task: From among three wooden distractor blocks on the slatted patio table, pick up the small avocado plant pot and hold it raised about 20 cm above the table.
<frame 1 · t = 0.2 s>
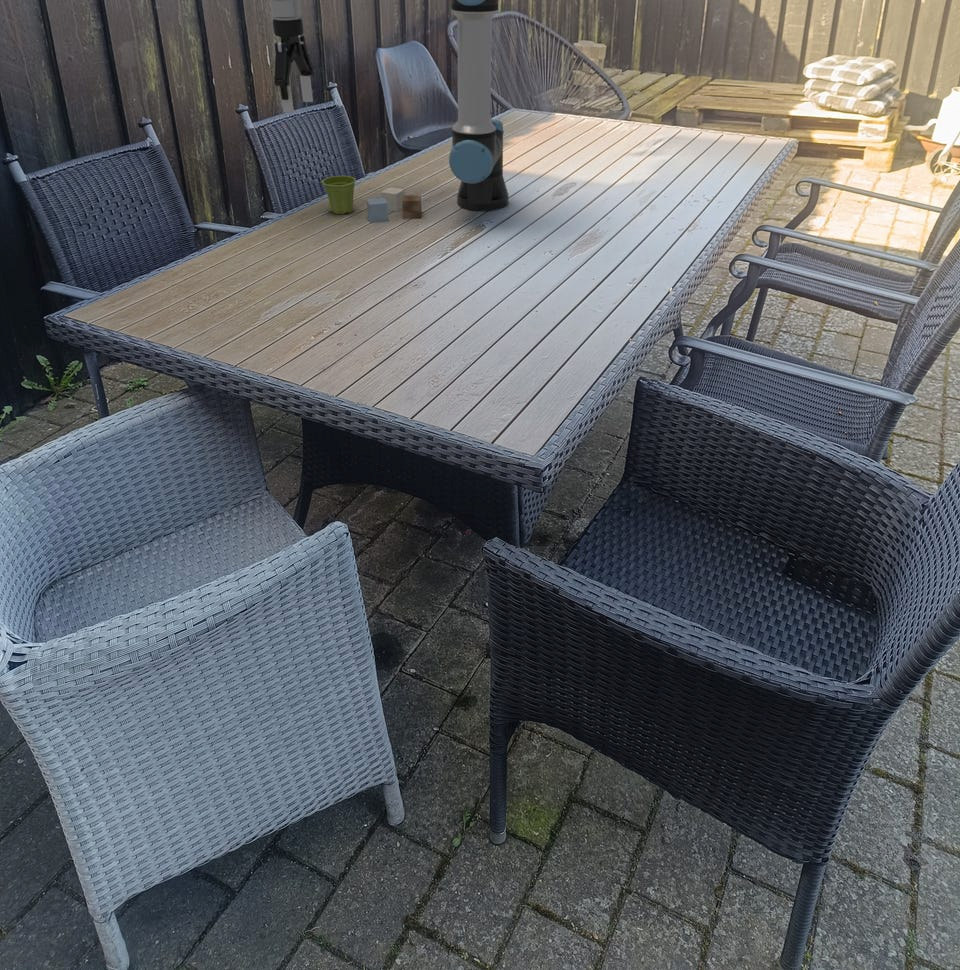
hand: (298, 107, 228), 28 cm above the table, fingers open, 13 cm apart
walnut block: (412, 215, 239), on the table
plant pot: (342, 211, 243), on the table
slate blue block: (378, 219, 237), on the table
cream block: (393, 208, 245), on the table
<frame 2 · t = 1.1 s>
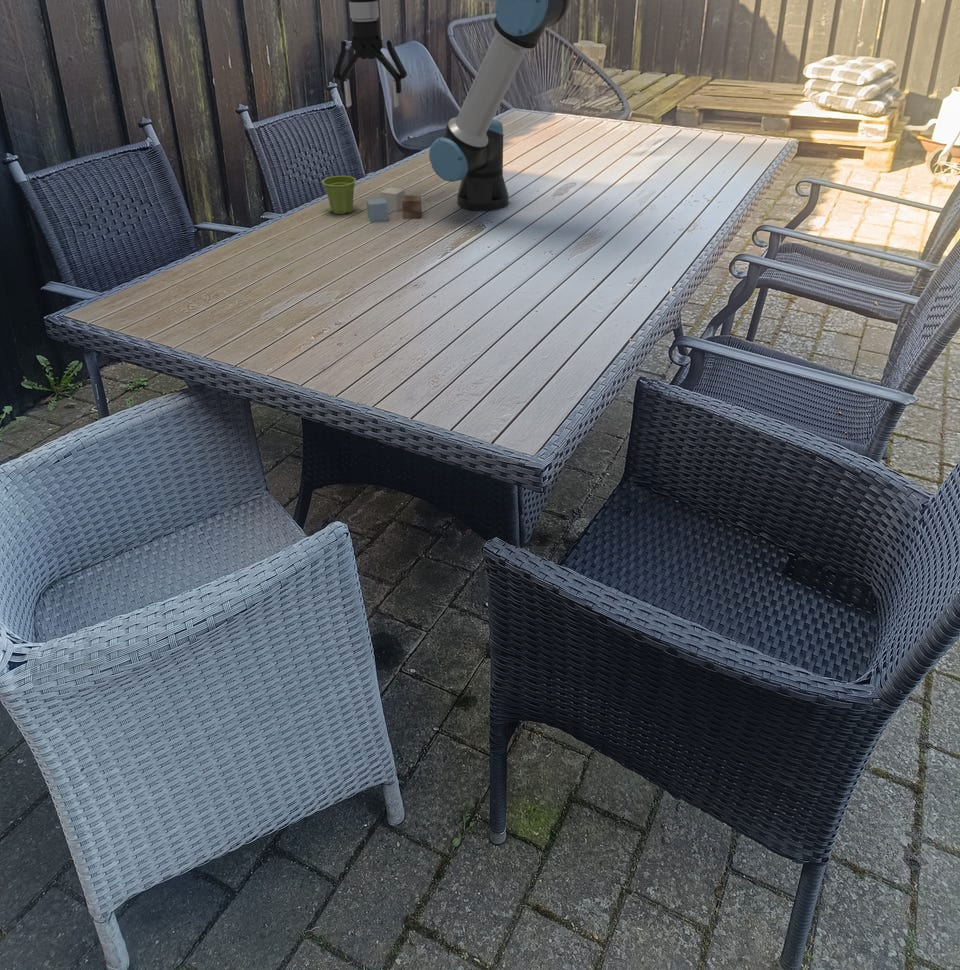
hand: (372, 106, 234), 26 cm above the table, fingers open, 13 cm apart
nothing on the table moved.
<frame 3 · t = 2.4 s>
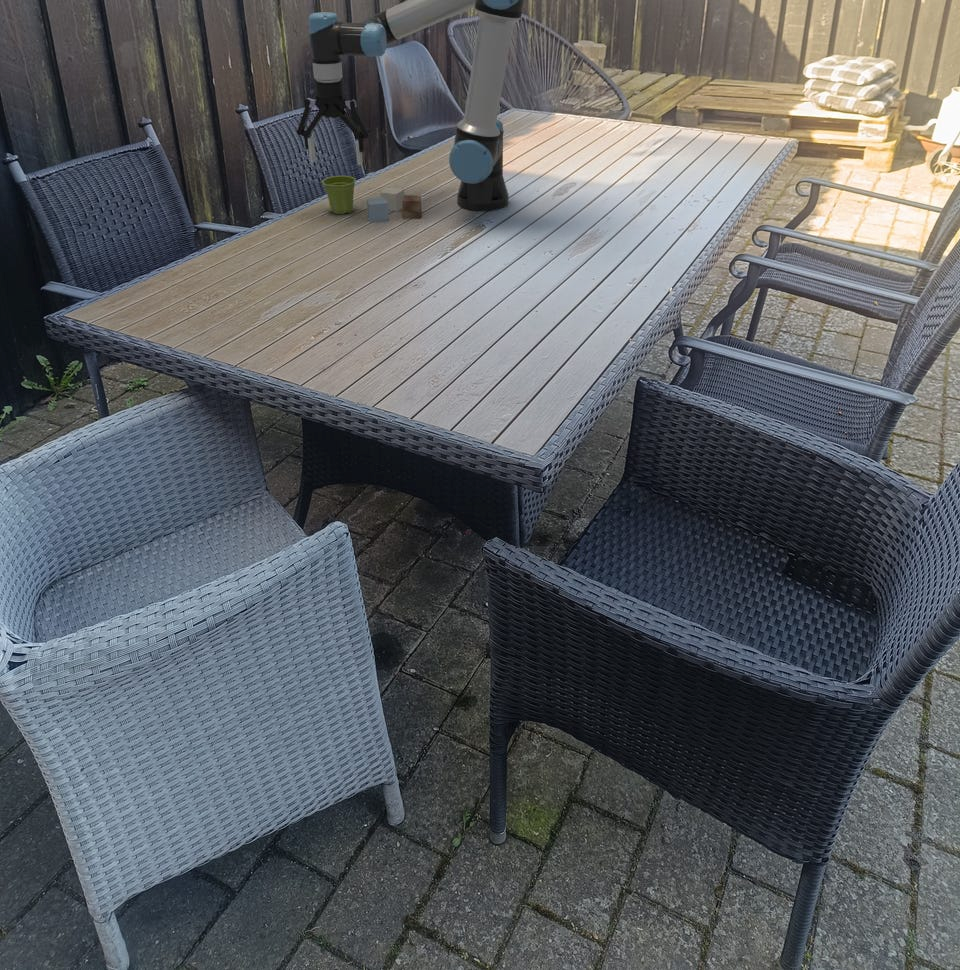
hand: (336, 162, 235), 13 cm above the table, fingers open, 13 cm apart
nothing on the table moved.
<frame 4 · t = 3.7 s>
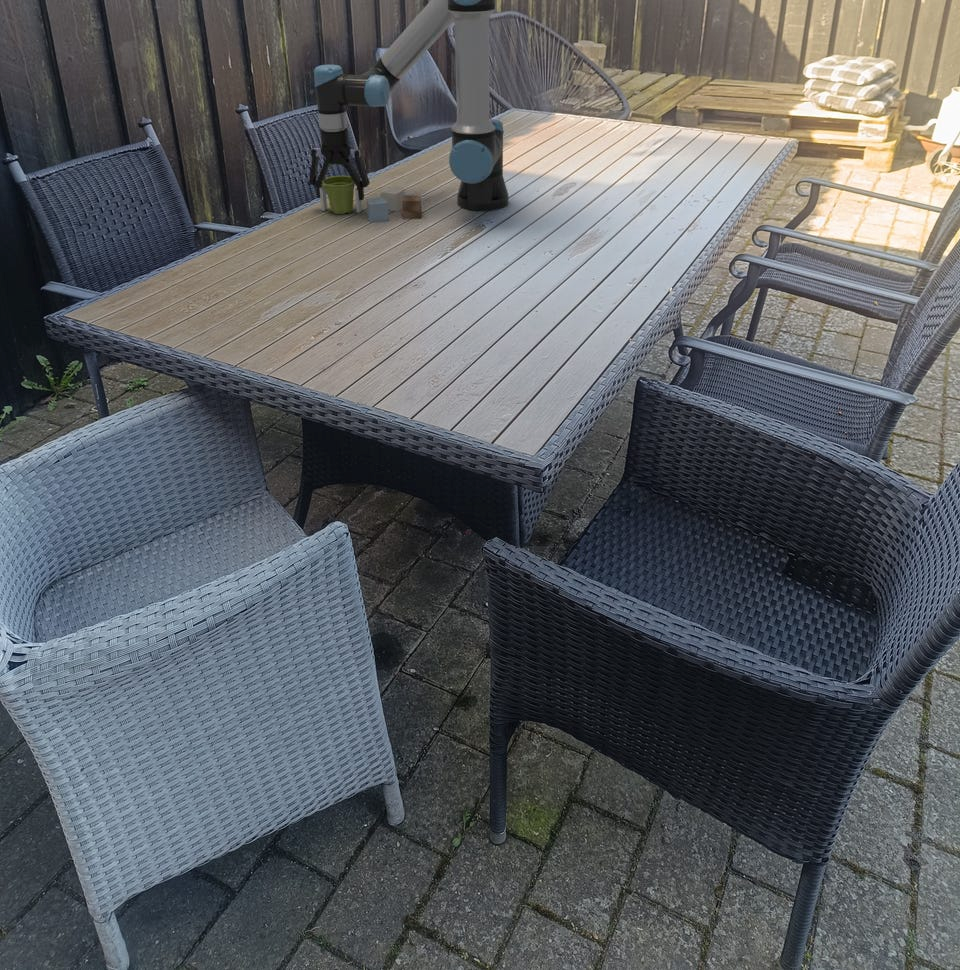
hand: (342, 210, 242), 0 cm above the table, fingers open, 10 cm apart
nothing on the table moved.
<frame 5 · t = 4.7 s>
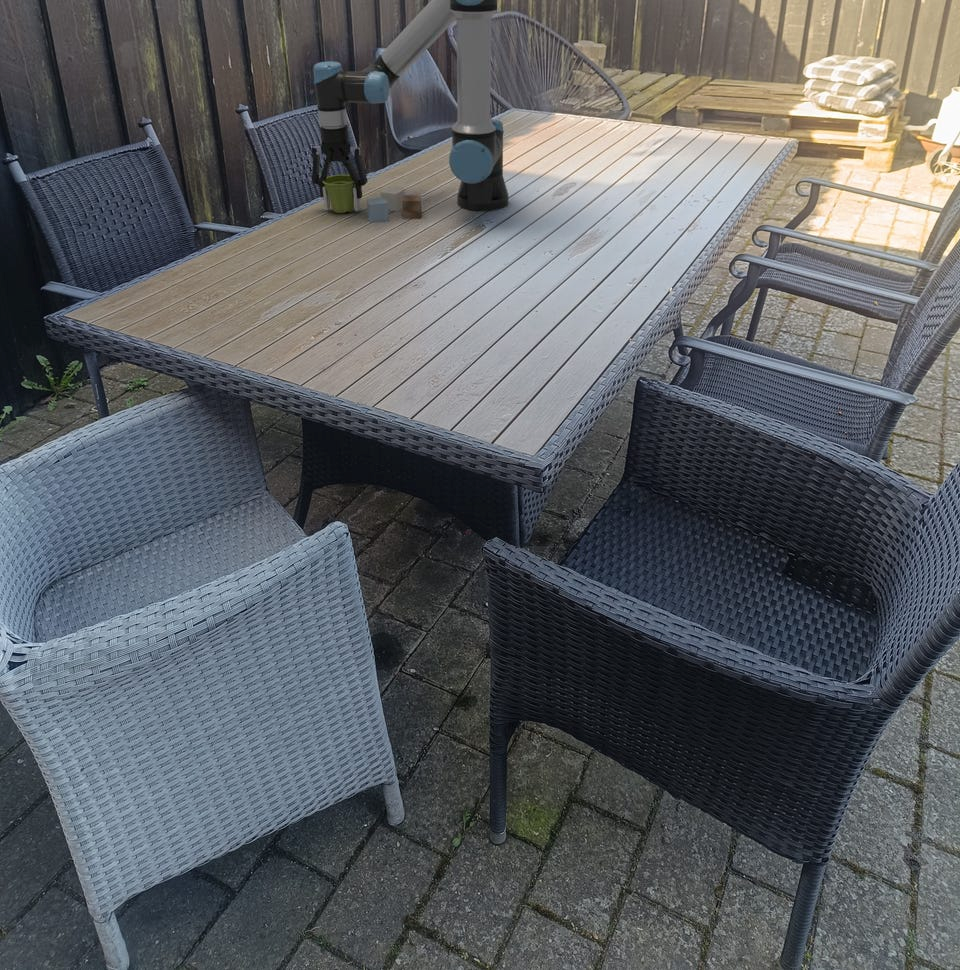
hand: (342, 209, 242), 1 cm above the table, fingers closed on plant pot, 8 cm apart
plant pot: (343, 210, 243), on the table, touching gripper
everything else where it was.
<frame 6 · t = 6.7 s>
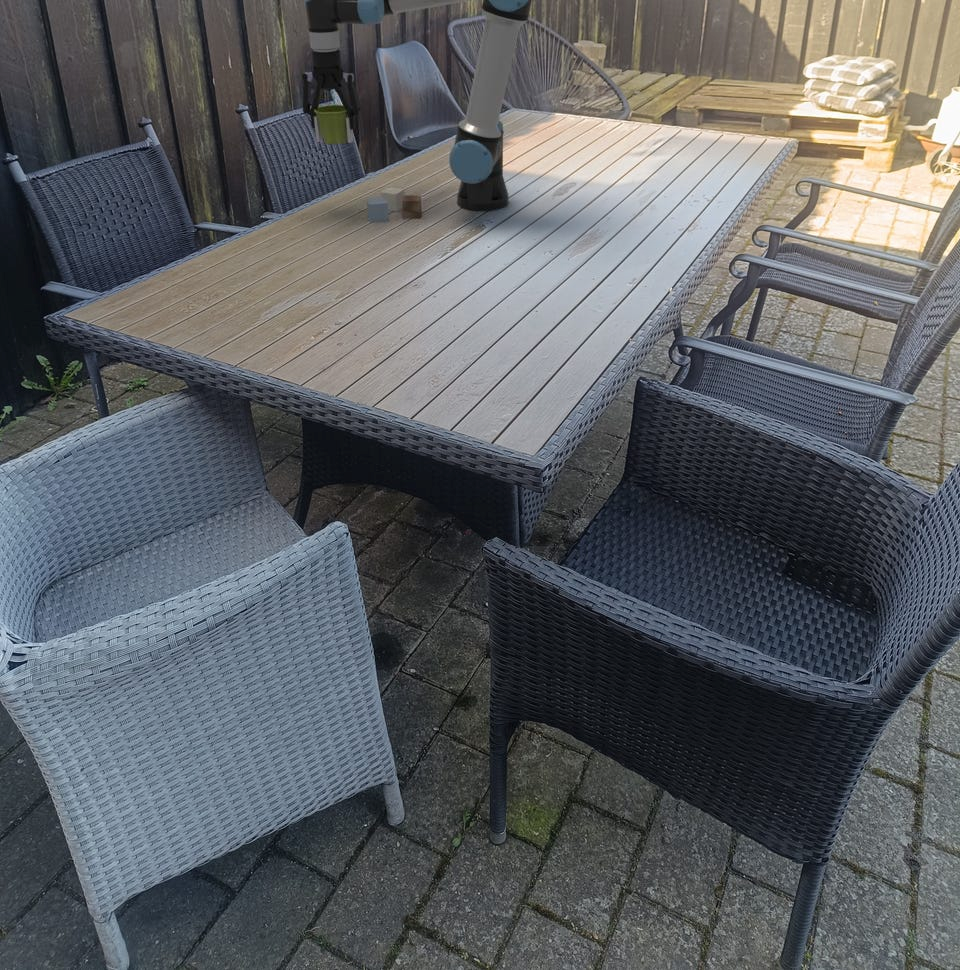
hand: (335, 141, 231), 19 cm above the table, fingers closed on plant pot, 8 cm apart
plant pot: (335, 143, 232), point 19 cm above the table, touching gripper
everything else where it was.
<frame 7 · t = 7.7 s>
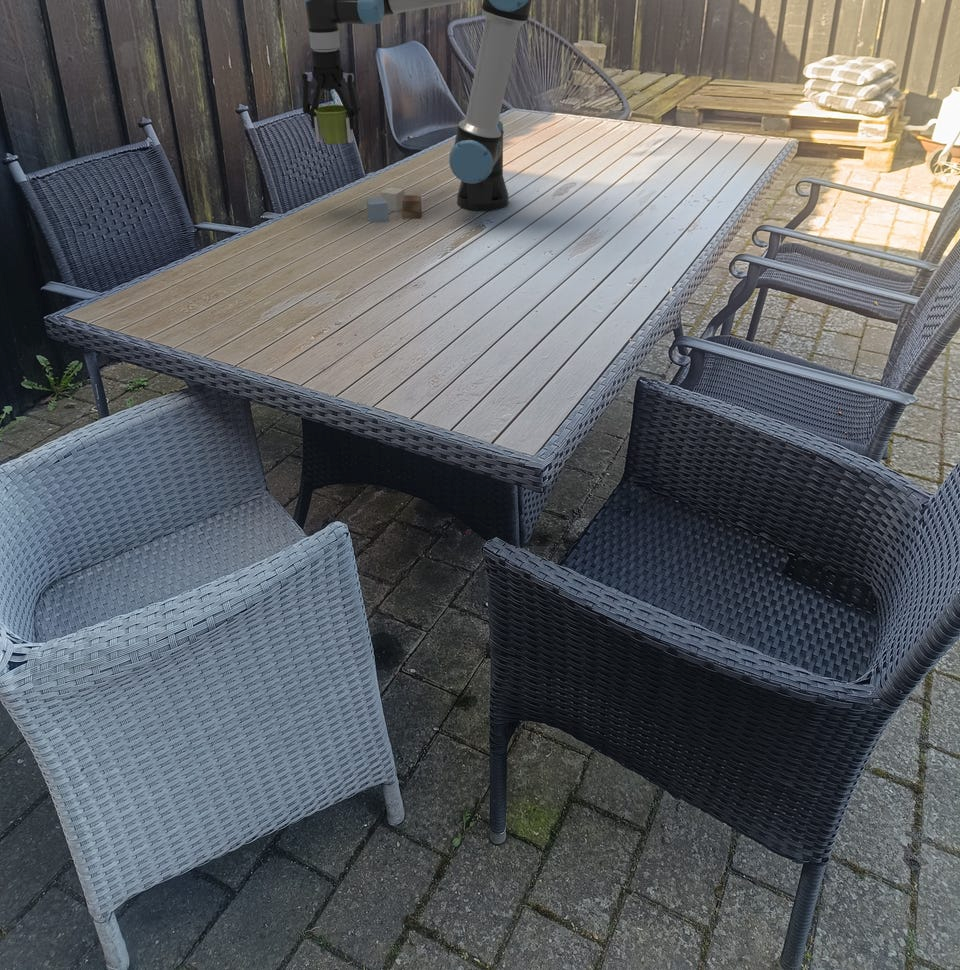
hand: (335, 141, 231), 19 cm above the table, fingers closed on plant pot, 8 cm apart
plant pot: (335, 143, 232), point 19 cm above the table, touching gripper
everything else where it was.
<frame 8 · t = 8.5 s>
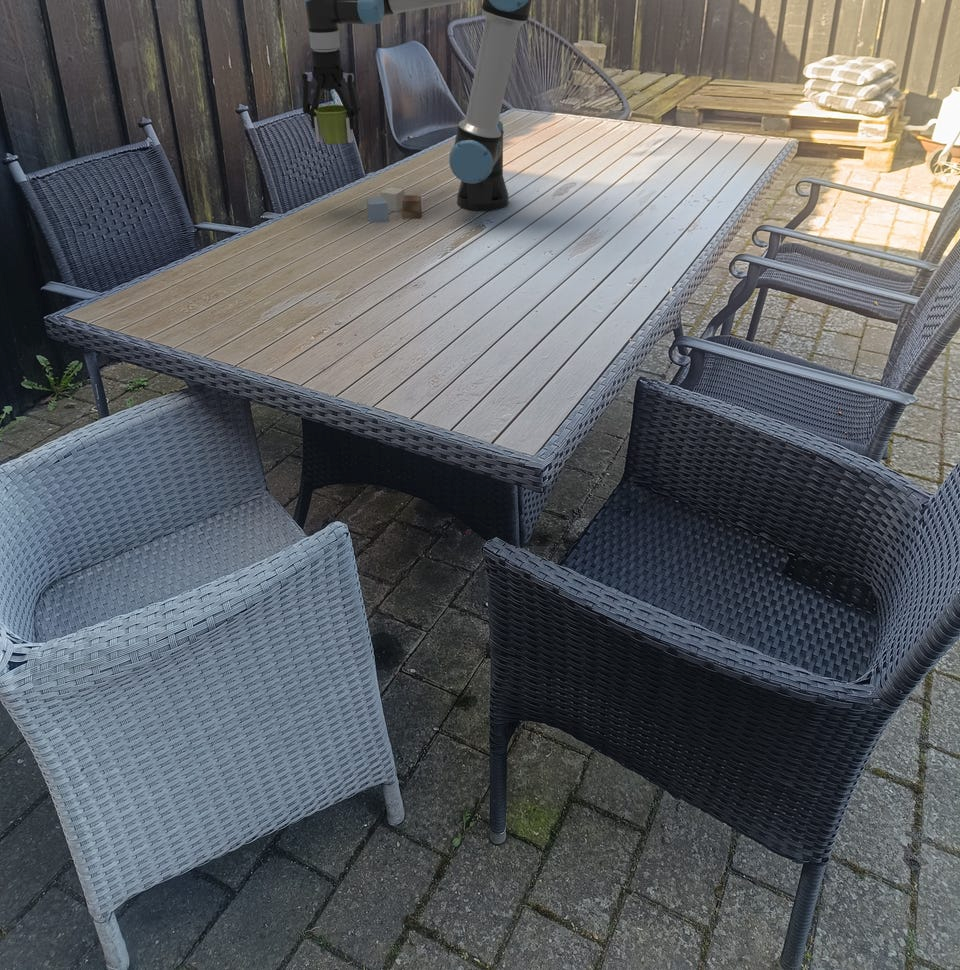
hand: (335, 141, 231), 19 cm above the table, fingers closed on plant pot, 8 cm apart
plant pot: (335, 143, 232), point 19 cm above the table, touching gripper
everything else where it was.
at the end: the gripper is holding plant pot; plant pot point 18.7 cm above the table; slate blue block moved 0.1 cm from its start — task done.
